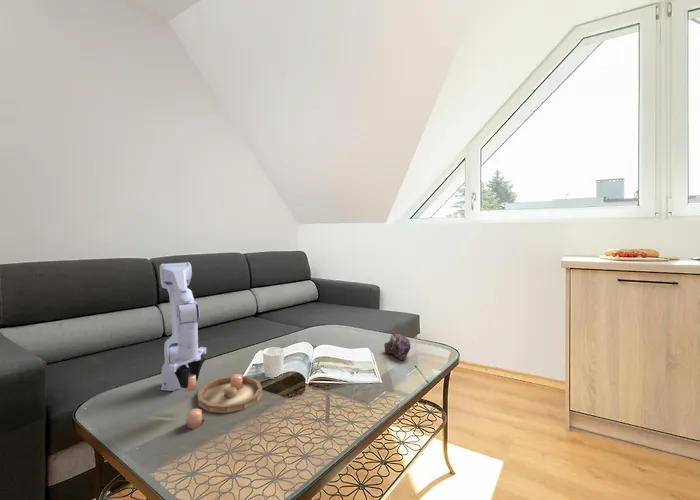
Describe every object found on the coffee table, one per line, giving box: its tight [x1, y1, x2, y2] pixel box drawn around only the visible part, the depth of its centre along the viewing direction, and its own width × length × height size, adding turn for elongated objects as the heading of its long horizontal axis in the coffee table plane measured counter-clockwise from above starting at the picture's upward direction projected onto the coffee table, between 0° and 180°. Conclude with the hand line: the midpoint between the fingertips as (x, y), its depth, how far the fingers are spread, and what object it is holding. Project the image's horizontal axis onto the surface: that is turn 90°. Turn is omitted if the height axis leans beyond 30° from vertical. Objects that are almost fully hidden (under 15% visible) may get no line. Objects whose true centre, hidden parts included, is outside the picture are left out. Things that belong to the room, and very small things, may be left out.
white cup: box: [262, 346, 285, 379], centre depth 143 cm, size 8×8×10 cm
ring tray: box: [197, 375, 263, 414], centre depth 128 cm, size 20×20×3 cm
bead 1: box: [181, 373, 197, 393], centre depth 117 cm, size 4×4×4 cm
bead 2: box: [186, 408, 203, 430], centre depth 112 cm, size 4×4×4 cm
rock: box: [383, 333, 411, 361], centre depth 166 cm, size 12×9×10 cm
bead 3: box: [230, 373, 243, 390], centre depth 133 cm, size 4×4×4 cm
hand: (189, 383), depth 117 cm, fingers closed on bead 1, 4 cm apart
